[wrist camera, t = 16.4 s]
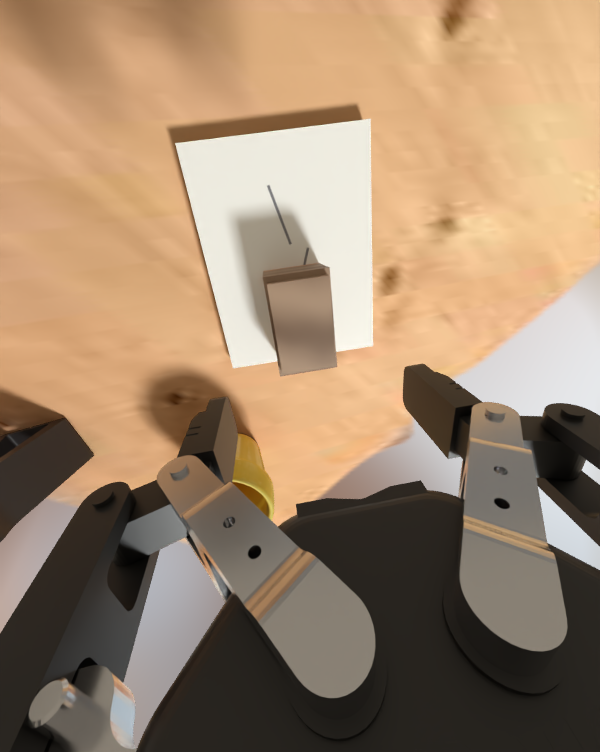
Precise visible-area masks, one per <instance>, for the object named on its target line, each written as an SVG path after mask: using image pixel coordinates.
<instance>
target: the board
mask: <svg viewBox="0 0 600 752" xmlns="http://www.w3.org/2000/svg"><path fill="white" fill-rule="evenodd" d="M175 145H176V149H177V153H178V156H179V160H180V164H181V168H182V172H183V176H184V180H185V184H186V187H187V191H188V195H189V199H190V203H191V207H192V211H193V215H194V218H195V222H196V226H197V230H198V234H199V238H200V242H201V246H202V250H203V253H204V257H205V261H206V265H207V269H208V273H209V277H210V281H211V284H212V288H213V292H214V296H215V300H216V304H217V308H218V312H219V315H220V319H221V323H222V327H223V331H224V335H225V339H226V343H227V346H228V350H229V354H230V358H231V362H232V366H233V368H239V367H245V366H251V365H257V364H264V363H270V362H276V361H277V355H276V350H275V344H274V338H273V333H272V327H271V322H270V316H269V310H268V305H267V299H266V294H265V288H264V282H263V271H267V270H273V269H280V268H287V267H294V266H300V265H307V264H314V263H321V264H323V265H325V266H328V267H330V279H331V292H332V305H333V318H334V332H335V345H336V352H338V351H345V350H351V349H357V348H363V347H369V346H373V302H372V213H371V124H370V119H365V120H357V121H349V122H341V123H333V124H325V125H317V126H309V127H301V128H293V129H285V130H277V131H269V132H261V133H253V134H245V135H237V136H229V137H221V138H214V139H206V140H198V141H190V142H182V143H175Z"/></svg>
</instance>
